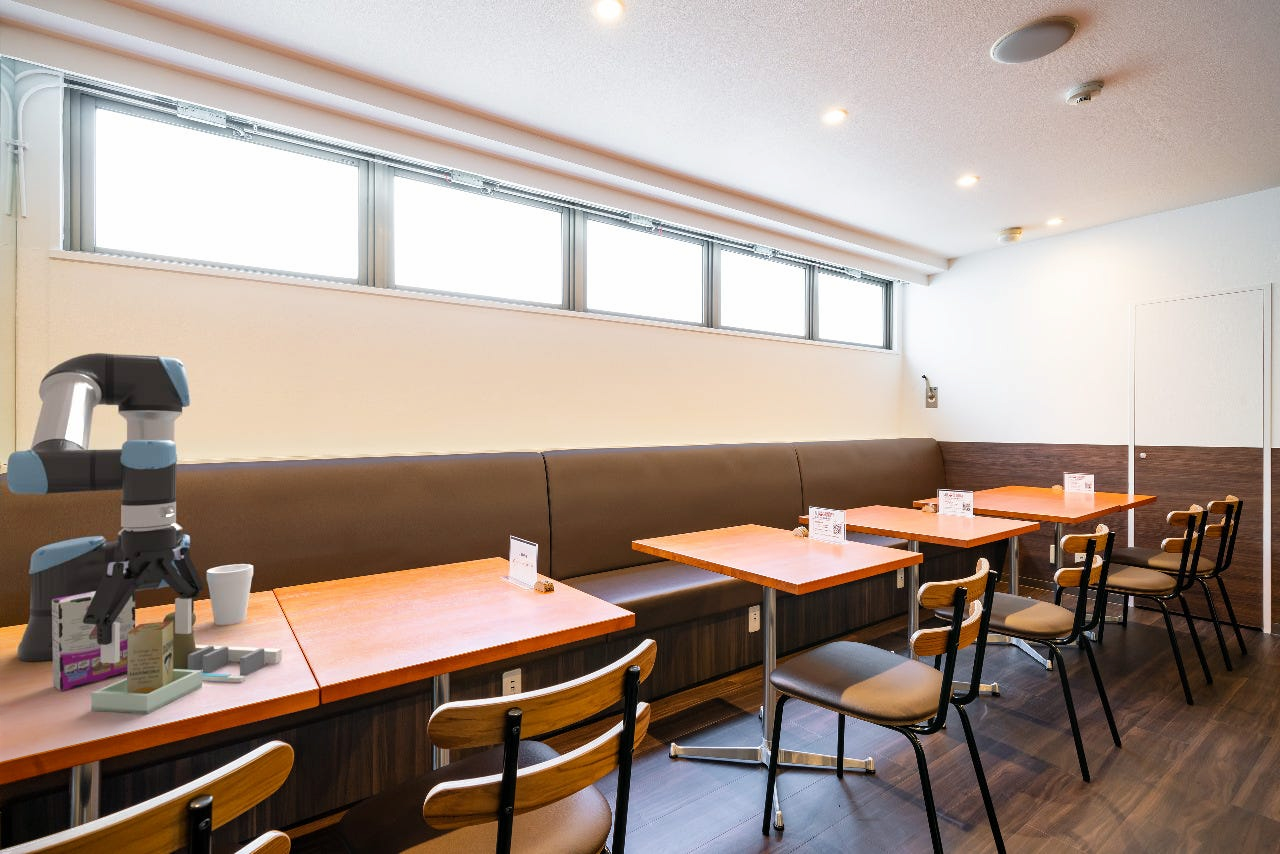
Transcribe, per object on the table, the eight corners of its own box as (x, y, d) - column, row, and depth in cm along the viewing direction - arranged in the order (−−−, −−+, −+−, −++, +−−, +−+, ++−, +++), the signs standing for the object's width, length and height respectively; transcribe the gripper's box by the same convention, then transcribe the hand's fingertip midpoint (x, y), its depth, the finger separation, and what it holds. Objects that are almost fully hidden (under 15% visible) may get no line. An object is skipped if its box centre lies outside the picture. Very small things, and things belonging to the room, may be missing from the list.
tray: (91, 710, 100) (91, 692, 100) (150, 683, 110) (150, 667, 110) (147, 714, 99) (147, 696, 99) (201, 686, 109) (201, 670, 109)
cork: (182, 673, 115) (182, 616, 115) (151, 673, 115) (152, 616, 115) (205, 661, 121) (205, 607, 121) (176, 660, 121) (176, 607, 121)
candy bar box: (127, 666, 119) (127, 584, 119) (136, 671, 116) (137, 587, 116) (50, 686, 109) (50, 597, 109) (59, 693, 107) (59, 602, 107)
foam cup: (235, 627, 142) (235, 573, 142) (197, 627, 142) (197, 573, 142) (261, 614, 151) (261, 564, 151) (225, 614, 151) (225, 564, 152)
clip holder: (127, 675, 114) (128, 657, 114) (177, 655, 124) (177, 638, 124) (241, 682, 111) (241, 663, 111) (281, 660, 121) (281, 643, 121)
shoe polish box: (173, 686, 108) (173, 620, 108) (162, 698, 103) (162, 629, 103) (139, 691, 106) (139, 624, 106) (127, 703, 101) (127, 632, 101)
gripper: (94, 541, 92) (94, 678, 92) (226, 516, 117) (225, 623, 117) (52, 540, 93) (52, 675, 93) (192, 515, 117) (191, 621, 118)
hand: (149, 646), depth 105 cm, fingers open, 13 cm apart
